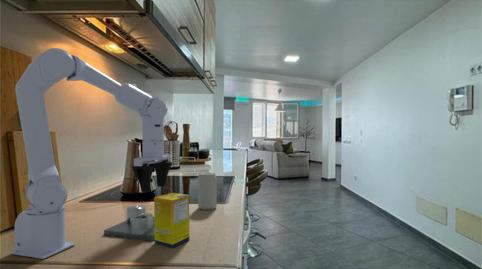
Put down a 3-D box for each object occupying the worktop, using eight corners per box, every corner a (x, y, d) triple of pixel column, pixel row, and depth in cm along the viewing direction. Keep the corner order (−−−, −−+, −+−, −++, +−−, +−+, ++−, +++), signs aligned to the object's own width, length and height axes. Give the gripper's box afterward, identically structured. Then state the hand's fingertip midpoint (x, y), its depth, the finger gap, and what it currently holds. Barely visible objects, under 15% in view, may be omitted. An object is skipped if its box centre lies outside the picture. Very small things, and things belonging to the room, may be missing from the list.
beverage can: (218, 205, 102) (218, 172, 102) (214, 210, 96) (214, 174, 96) (200, 205, 103) (200, 171, 103) (196, 210, 97) (195, 174, 97)
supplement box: (171, 235, 73) (171, 192, 73) (190, 239, 70) (189, 194, 70) (153, 243, 68) (153, 196, 68) (172, 248, 65) (172, 199, 65)
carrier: (103, 234, 74) (103, 214, 74) (138, 219, 87) (138, 201, 87) (153, 240, 70) (153, 219, 70) (181, 223, 83) (181, 205, 83)
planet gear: (126, 233, 71) (126, 219, 71) (139, 227, 76) (139, 213, 76) (144, 235, 70) (144, 220, 70) (156, 228, 75) (156, 215, 75)
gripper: (150, 141, 74) (150, 195, 74) (178, 140, 88) (179, 184, 88) (126, 141, 76) (127, 193, 76) (158, 140, 90) (158, 183, 90)
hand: (153, 188), depth 82 cm, fingers open, 7 cm apart
